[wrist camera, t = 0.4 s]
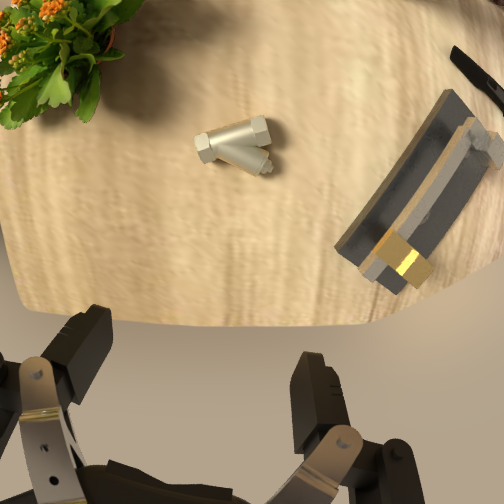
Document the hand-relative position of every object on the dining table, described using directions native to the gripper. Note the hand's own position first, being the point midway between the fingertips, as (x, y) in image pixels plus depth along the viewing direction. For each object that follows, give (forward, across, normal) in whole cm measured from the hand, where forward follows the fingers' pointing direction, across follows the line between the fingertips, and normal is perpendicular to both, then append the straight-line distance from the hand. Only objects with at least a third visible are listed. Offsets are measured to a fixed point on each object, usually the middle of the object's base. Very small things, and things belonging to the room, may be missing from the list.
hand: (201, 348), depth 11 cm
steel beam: (+24, -22, -6) cm, 33 cm away
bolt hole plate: (+27, -24, -7) cm, 37 cm away
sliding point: (+24, -19, +1) cm, 31 cm away
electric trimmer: (+28, -30, -27) cm, 49 cm away
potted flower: (+27, +25, -19) cm, 41 cm away
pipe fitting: (+27, +2, -5) cm, 28 cm away
